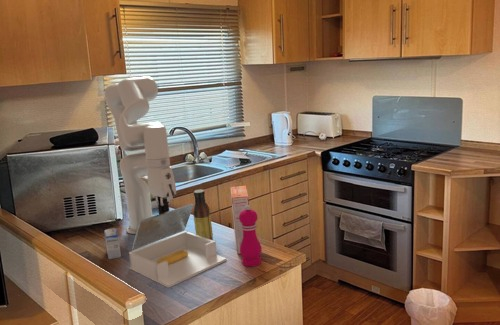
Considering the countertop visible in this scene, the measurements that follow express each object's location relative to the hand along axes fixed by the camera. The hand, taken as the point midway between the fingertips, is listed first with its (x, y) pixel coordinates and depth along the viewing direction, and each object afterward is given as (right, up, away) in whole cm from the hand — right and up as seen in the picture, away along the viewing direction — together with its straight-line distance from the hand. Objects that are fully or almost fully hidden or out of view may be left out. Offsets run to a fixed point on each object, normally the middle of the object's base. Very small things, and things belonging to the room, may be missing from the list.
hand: (164, 215), depth 160 cm
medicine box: (-21, -16, +13) cm, 29 cm away
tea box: (-18, -2, +72) cm, 74 cm away
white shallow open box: (+4, -16, +1) cm, 17 cm away
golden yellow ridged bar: (+3, -16, +2) cm, 16 cm away
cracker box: (+27, -13, +12) cm, 32 cm away
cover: (0, -4, +2) cm, 4 cm away
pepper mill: (+29, -16, -2) cm, 33 cm away
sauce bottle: (+12, -12, +19) cm, 26 cm away
